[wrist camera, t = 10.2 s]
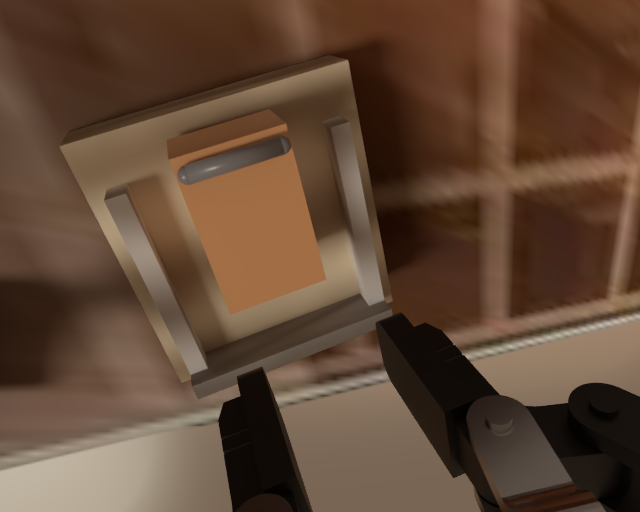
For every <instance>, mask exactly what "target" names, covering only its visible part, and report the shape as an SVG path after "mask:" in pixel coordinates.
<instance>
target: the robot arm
mask: <svg viewBox="0 0 640 512" xmlns="http://www.w3.org/2000/svg"><path fill="white" fill-rule="evenodd" d="M376 330H377V335H378V339H379V344H380V349H381V353H382V358H383V362H384V366H385V369H386V371H387V374H388V376H389V378H390V380H391V382H392V384H393V385H394V387H395V388H396V390H397V392H398V393H399V395H400V396H401V398H402V399H403V401H404V402H405V404H406V405H407V407H408V409H409V410H410V412H411V413H412V415H413V416H414V418H415V419H416V421H417V422H418V424H419V426H420V427H421V429H422V430H423V432H424V433H425V435H426V436H427V438H428V440H429V441H430V443H431V444H432V446H433V447H434V449H435V450H436V452H437V454H438V455H439V457H440V458H441V460H442V461H443V463H444V464H445V466H446V468H447V469H448V470H449V472H450V474H451V475H452V477H453V478H455V477H457V476H460V475H462V474H464V473H466V475H467V476H468V478H469V479H470V481H471V482H472V484H473V487H474V495H475V498H476V501H477V504H478V506H479V508H480V511H481V512H640V397H639V396H637V395H635V394H632V393H630V392H628V391H626V390H623V389H621V388H619V387H616V386H613V385H609V384H604V383H588V384H584V385H581V386H579V387H577V388H576V389H574V390H573V391H572V393H571V394H570V396H569V400H568V403H564V404H556V405H547V406H536V407H534V406H524V405H523V404H522V403H520V402H519V401H517V400H515V399H513V398H510V397H507V396H502V395H499V393H498V392H497V391H496V390H495V389H494V388H493V387H492V386H491V385H490V384H489V383H488V381H486V379H485V378H484V377H483V376H482V375H481V374H480V373H479V372H478V370H477V369H476V368H475V367H474V366H473V365H472V364H471V363H470V362H469V360H468V359H467V358H466V357H465V356H464V355H462V353H461V352H460V350H459V349H458V348H457V347H456V346H455V345H453V343H452V342H451V340H450V339H449V338H448V337H447V336H446V335H445V334H444V333H443V332H442V331H441V330H439V329H437V328H435V327H433V326H431V325H429V324H427V323H423V324H421V325H418V326H416V327H413V325H412V324H411V323H410V322H409V320H408V319H407V318H406V317H405V316H404V315H403V314H402V313H397V314H395V315H392V316H390V317H387V318H385V319H382V320H380V321H377V322H376ZM237 382H238V386H239V391H240V395H241V396H240V397H237V398H235V399H232V400H230V401H227V402H225V403H223V407H222V410H221V413H220V417H219V420H218V422H219V428H220V434H221V439H222V446H223V452H224V459H225V465H226V470H227V477H228V483H229V489H230V494H231V501H232V508H233V512H313V511H312V508H311V505H310V502H309V499H308V495H307V493H306V489H305V486H304V483H303V480H302V477H301V474H300V471H299V468H298V465H297V461H296V458H295V455H294V452H293V449H292V446H291V443H290V440H289V437H288V433H287V431H286V427H285V424H284V422H283V419H282V416H281V413H280V410H279V407H278V405H277V402H276V400H275V397H274V394H273V392H272V389H271V387H270V384H269V382H268V379H267V376H266V374H265V371H264V369H263V367H259V368H256V369H254V370H251V371H249V372H246V373H244V374H241V375H239V376H237Z"/></svg>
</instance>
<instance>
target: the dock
mask: <svg viewBox="0 0 640 512" xmlns="http://www.w3.org/2000/svg"><path fill="white" fill-rule="evenodd" d="M267 109H270V110H271V111H272V112H273V113H274V114H276V115H277V116H278V117H279V118H280V119H281V120H283V121H284V122H285V123H286V125H287V129H288V133H289V137H290V140H291V144H292V148H293V152H294V156H295V160H296V164H297V168H298V171H299V175H300V179H301V183H302V187H303V191H304V195H305V199H306V202H307V206H308V210H309V214H310V218H311V222H312V226H313V230H314V233H315V237H316V241H317V245H318V249H319V253H320V257H321V261H322V264H323V268H324V272H325V276H326V280H324V281H321V282H318V283H316V284H313V285H310V286H308V287H305V288H302V289H299V290H297V291H294V292H291V293H288V294H286V295H283V296H280V297H278V298H275V299H272V300H269V301H267V302H264V303H261V304H259V305H256V306H253V307H250V308H248V309H245V310H242V311H239V312H237V313H234V314H231V315H230V313H229V310H228V308H227V305H226V303H225V300H224V298H223V295H222V293H221V290H220V288H219V285H218V283H217V280H216V278H215V275H214V272H213V270H212V267H211V265H210V262H209V260H208V257H207V255H206V252H205V250H204V247H203V245H202V242H201V240H200V237H199V235H198V232H197V230H196V227H195V225H194V222H193V220H192V217H191V215H190V212H189V210H188V207H187V205H186V202H185V200H184V197H183V195H182V192H181V190H180V187H179V185H178V182H177V180H176V177H175V175H174V172H173V170H172V167H171V165H170V162H169V159H168V151H167V142H166V140H168V139H172V138H175V137H178V136H181V135H185V134H188V133H191V132H195V131H198V130H201V129H205V128H208V127H211V126H215V125H218V124H221V123H224V122H228V121H231V120H234V119H238V118H241V117H244V116H248V115H251V114H254V113H257V112H261V111H264V110H267ZM59 147H60V149H61V151H62V153H63V155H64V156H65V158H66V160H67V162H68V164H69V166H70V168H71V170H72V172H73V174H74V176H75V178H76V180H77V182H78V184H79V185H80V187H81V189H82V191H83V193H84V195H85V197H86V199H87V201H88V203H89V205H90V207H91V209H92V211H93V213H94V214H95V216H96V218H97V220H98V222H99V224H100V226H101V228H102V230H103V232H104V234H105V236H106V238H107V240H108V242H109V243H110V245H111V247H112V249H113V251H114V253H115V255H116V257H117V259H118V261H119V263H120V265H121V267H122V269H123V270H124V272H125V274H126V276H127V278H128V280H129V282H130V284H131V286H132V288H133V290H134V292H135V294H136V296H137V298H138V299H139V301H140V303H141V305H142V307H143V309H144V311H145V313H146V315H147V317H148V319H149V321H150V323H151V325H152V327H153V328H154V330H155V332H156V334H157V336H158V338H159V340H160V342H161V344H162V346H163V348H164V350H165V352H166V354H167V355H168V357H169V359H170V361H171V363H172V365H173V367H174V369H175V371H176V373H177V375H178V377H179V379H180V381H181V383H183V382H185V381H188V380H191V382H192V388H193V390H194V392H195V394H196V396H197V398H198V399H201V398H203V397H206V396H208V395H211V394H213V393H216V392H218V391H221V390H223V389H226V388H228V387H231V386H233V385H236V384H238V382H237V376H239V375H241V374H244V373H246V372H249V371H251V370H254V369H256V368H259V367H263V369H264V371H265V373H266V372H269V371H271V370H274V369H276V368H279V367H282V366H284V365H287V364H289V363H292V362H294V361H297V360H299V359H302V358H304V357H307V356H309V355H312V354H314V353H317V352H319V351H322V350H325V349H327V348H330V347H332V346H335V345H337V344H340V343H342V342H345V341H347V340H350V339H352V338H355V337H357V336H360V335H362V334H365V333H368V332H370V331H373V330H375V329H376V322H377V321H380V320H382V319H385V318H387V317H390V316H392V315H393V314H392V309H391V308H390V306H389V305H388V304H387V303H389V302H392V295H391V290H390V285H389V279H388V274H387V268H386V263H385V257H384V252H383V247H382V241H381V236H380V230H379V225H378V220H377V214H376V209H375V203H374V198H373V192H372V187H371V182H370V176H369V171H368V165H367V160H366V154H365V149H364V144H363V138H362V133H361V127H360V122H359V116H358V111H357V106H356V100H355V95H354V89H353V84H352V79H351V73H350V68H349V62H348V60H347V59H343V58H339V57H335V56H332V55H327V56H323V57H320V58H316V59H313V60H310V61H306V62H303V63H300V64H296V65H293V66H289V67H286V68H283V69H279V70H276V71H273V72H269V73H266V74H262V75H259V76H256V77H252V78H249V79H246V80H242V81H239V82H235V83H232V84H229V85H225V86H222V87H219V88H215V89H212V90H208V91H205V92H202V93H198V94H195V95H191V96H188V97H185V98H181V99H178V100H175V101H171V102H168V103H164V104H161V105H158V106H154V107H151V108H148V109H144V110H141V111H137V112H134V113H131V114H127V115H124V116H121V117H117V118H114V119H110V120H107V121H104V122H100V123H97V124H94V125H90V126H87V127H83V128H80V129H77V130H73V131H70V132H68V134H67V135H66V137H65V138H64V140H63V142H62V143H61V145H60V146H59Z"/></svg>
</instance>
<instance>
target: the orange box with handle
mask: <svg viewBox="0 0 640 512" xmlns="http://www.w3.org/2000/svg"><path fill="white" fill-rule="evenodd" d="M166 142H167V151H168V159H169V162H170V165H171V167H172V170H173V172H174V175H175V177H176V180H177V182H178V185H179V187H180V190H181V192H182V195H183V197H184V200H185V202H186V205H187V207H188V210H189V212H190V215H191V217H192V220H193V222H194V225H195V227H196V230H197V232H198V235H199V237H200V240H201V242H202V245H203V247H204V250H205V252H206V255H207V257H208V260H209V262H210V265H211V267H212V270H213V272H214V275H215V278H216V280H217V283H218V285H219V288H220V290H221V293H222V295H223V298H224V300H225V303H226V305H227V308H228V310H229V313H230V315H231V314H234V313H237V312H239V311H242V310H245V309H248V308H250V307H253V306H256V305H259V304H261V303H264V302H267V301H269V300H272V299H275V298H278V297H280V296H283V295H286V294H288V293H291V292H294V291H297V290H299V289H302V288H305V287H308V286H310V285H313V284H316V283H318V282H321V281H324V280H326V276H325V272H324V268H323V264H322V261H321V257H320V253H319V249H318V245H317V241H316V237H315V233H314V230H313V226H312V222H311V218H310V214H309V210H308V206H307V202H306V199H305V195H304V191H303V187H302V183H301V179H300V175H299V171H298V168H297V164H296V160H295V156H294V152H293V148H292V144H291V140H290V137H289V133H288V129H287V125H286V123H285V122H284V121H283V120H281V119H280V118H279V117H278V116H277V115H276V114H274V113H273V112H272V111H271V110H270V109H267V110H264V111H261V112H257V113H254V114H251V115H248V116H244V117H241V118H238V119H234V120H231V121H228V122H224V123H221V124H218V125H215V126H211V127H208V128H205V129H201V130H198V131H195V132H191V133H188V134H185V135H181V136H178V137H175V138H172V139H168V140H166Z"/></svg>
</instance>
